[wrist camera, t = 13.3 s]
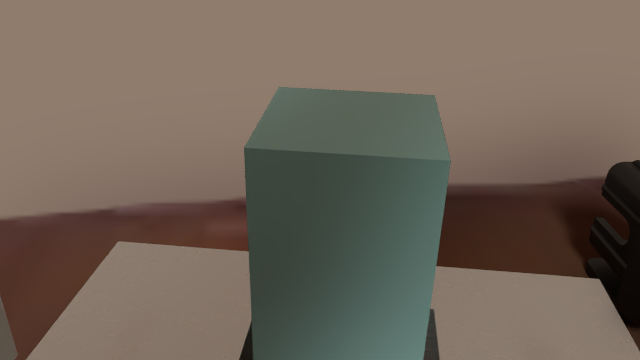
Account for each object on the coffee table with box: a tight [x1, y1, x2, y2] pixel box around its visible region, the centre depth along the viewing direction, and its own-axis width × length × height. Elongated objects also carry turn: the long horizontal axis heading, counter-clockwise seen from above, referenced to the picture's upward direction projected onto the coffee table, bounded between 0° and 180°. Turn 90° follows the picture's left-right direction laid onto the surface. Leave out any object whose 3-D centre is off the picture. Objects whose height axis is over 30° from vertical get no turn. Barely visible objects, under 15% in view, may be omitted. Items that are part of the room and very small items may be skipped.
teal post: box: [244, 87, 451, 360], centre depth 17 cm, size 4×4×12 cm
